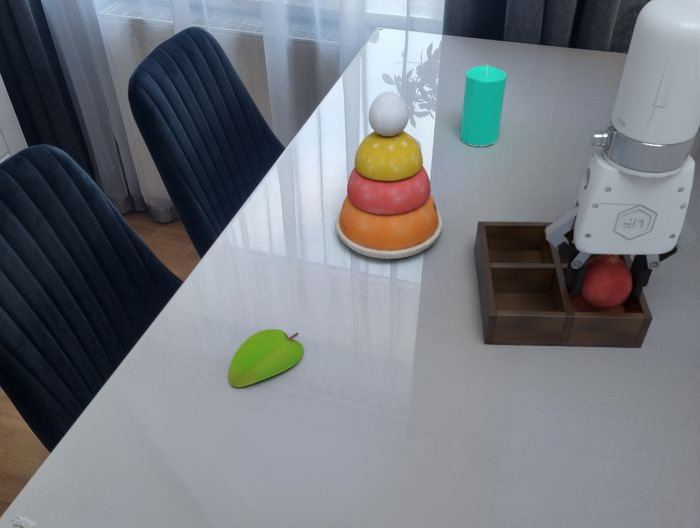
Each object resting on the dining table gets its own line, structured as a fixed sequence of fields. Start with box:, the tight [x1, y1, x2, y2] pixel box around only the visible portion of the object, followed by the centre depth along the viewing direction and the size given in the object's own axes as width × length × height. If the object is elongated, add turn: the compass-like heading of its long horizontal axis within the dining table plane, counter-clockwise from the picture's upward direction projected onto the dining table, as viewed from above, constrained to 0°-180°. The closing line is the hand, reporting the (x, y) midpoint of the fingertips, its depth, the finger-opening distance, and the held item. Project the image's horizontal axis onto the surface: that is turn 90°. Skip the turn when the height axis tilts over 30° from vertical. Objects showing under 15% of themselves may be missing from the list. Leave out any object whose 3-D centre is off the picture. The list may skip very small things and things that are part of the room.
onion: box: [579, 254, 632, 310], centre depth 76 cm, size 6×6×8 cm
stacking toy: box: [335, 91, 443, 260], centre depth 86 cm, size 14×14×20 cm
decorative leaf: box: [228, 328, 304, 388], centre depth 76 cm, size 8×9×1 cm
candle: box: [459, 63, 507, 146], centre depth 105 cm, size 6×6×12 cm
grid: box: [473, 220, 653, 349], centre depth 81 cm, size 17×17×5 cm
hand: (603, 287), depth 76 cm, fingers closed on onion, 5 cm apart
